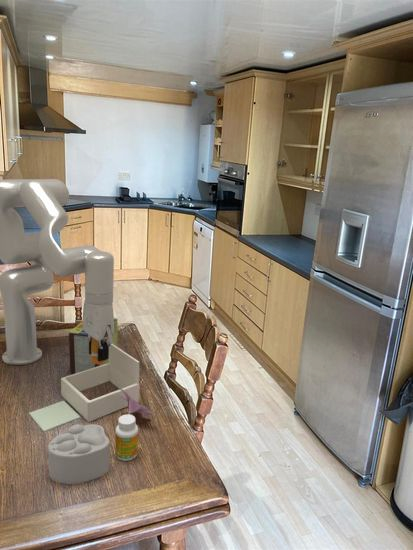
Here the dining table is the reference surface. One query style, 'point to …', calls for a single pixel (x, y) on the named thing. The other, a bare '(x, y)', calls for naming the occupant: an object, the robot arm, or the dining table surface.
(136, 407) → the lily
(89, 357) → the protein box
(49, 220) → the robot arm
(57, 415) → the mat
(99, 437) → the lumpy-topped squat cylinder
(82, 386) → the carton
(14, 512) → the dining table surface
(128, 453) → the supplement bottle
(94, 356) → the supplement box
